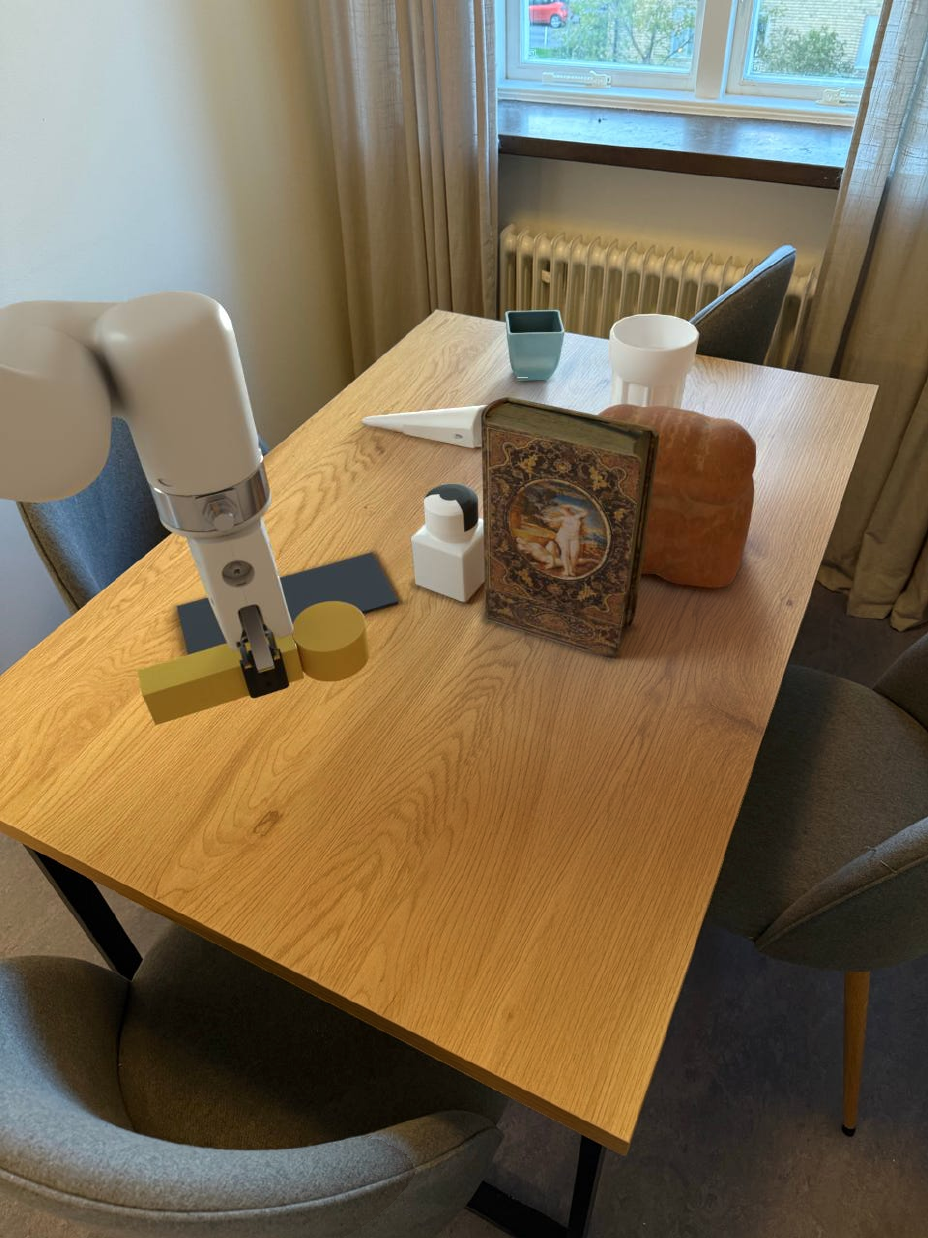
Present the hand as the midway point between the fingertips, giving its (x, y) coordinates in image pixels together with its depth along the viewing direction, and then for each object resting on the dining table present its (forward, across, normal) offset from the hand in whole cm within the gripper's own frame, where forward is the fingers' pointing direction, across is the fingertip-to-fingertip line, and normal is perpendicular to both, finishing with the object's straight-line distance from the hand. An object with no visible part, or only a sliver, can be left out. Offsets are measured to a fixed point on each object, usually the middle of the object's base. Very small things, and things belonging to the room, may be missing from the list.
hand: (264, 673), depth 68 cm
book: (+15, +9, -32) cm, 37 cm away
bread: (+15, +17, -50) cm, 55 cm away
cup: (+15, +36, -60) cm, 72 cm away
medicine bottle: (+15, +21, -25) cm, 36 cm away
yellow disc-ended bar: (0, 0, 0) cm, 0 cm away
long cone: (+15, +55, -34) cm, 66 cm away
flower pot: (+15, +64, -57) cm, 87 cm away
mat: (+15, +25, -6) cm, 30 cm away
